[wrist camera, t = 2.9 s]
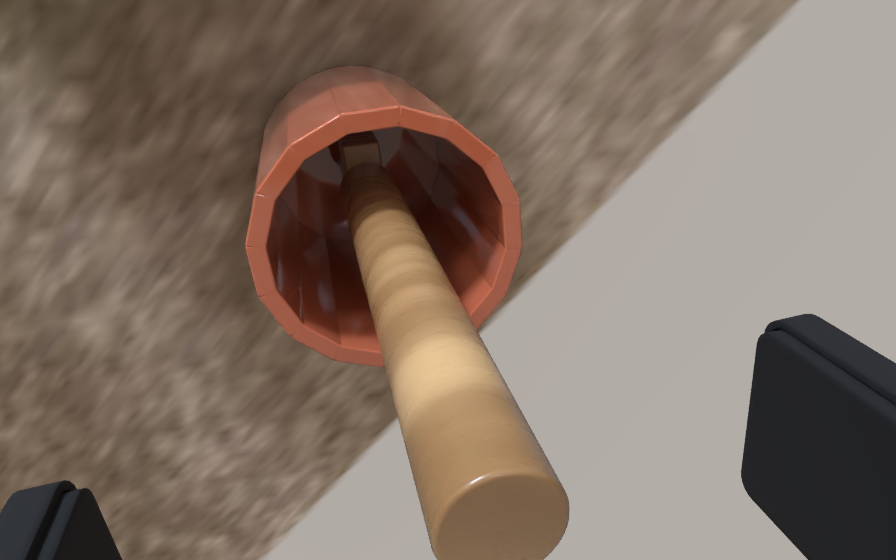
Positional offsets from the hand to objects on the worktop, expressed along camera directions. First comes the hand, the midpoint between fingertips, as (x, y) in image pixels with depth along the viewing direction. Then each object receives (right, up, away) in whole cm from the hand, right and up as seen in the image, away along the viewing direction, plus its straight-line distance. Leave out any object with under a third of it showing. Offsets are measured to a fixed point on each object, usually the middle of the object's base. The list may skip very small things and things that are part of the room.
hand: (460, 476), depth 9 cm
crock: (-4, +7, +15) cm, 17 cm away
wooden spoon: (-4, +7, +15) cm, 17 cm away
